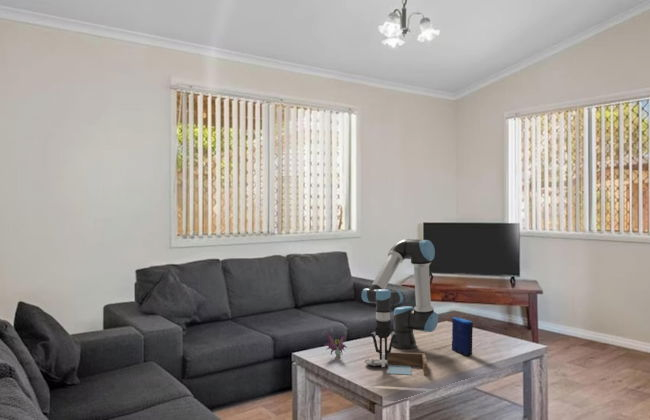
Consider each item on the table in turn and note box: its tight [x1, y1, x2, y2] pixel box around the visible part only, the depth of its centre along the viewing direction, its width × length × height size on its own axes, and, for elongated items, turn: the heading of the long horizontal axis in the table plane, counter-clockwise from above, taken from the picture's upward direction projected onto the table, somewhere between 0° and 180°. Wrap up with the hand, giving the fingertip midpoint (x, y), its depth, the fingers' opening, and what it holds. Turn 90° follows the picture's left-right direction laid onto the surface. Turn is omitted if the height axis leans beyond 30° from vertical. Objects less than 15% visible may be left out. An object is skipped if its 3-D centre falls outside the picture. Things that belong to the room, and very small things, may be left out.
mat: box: [387, 364, 413, 376], centre depth 248 cm, size 14×12×1 cm
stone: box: [364, 358, 389, 367], centre depth 255 cm, size 12×9×3 cm
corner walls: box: [382, 351, 428, 377], centre depth 250 cm, size 18×24×6 cm
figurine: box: [323, 331, 348, 360], centre depth 269 cm, size 14×8×15 cm, turn 74°
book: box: [451, 316, 474, 356], centre depth 279 cm, size 14×5×20 cm, turn 22°
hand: (383, 366), depth 248 cm, fingers closed
